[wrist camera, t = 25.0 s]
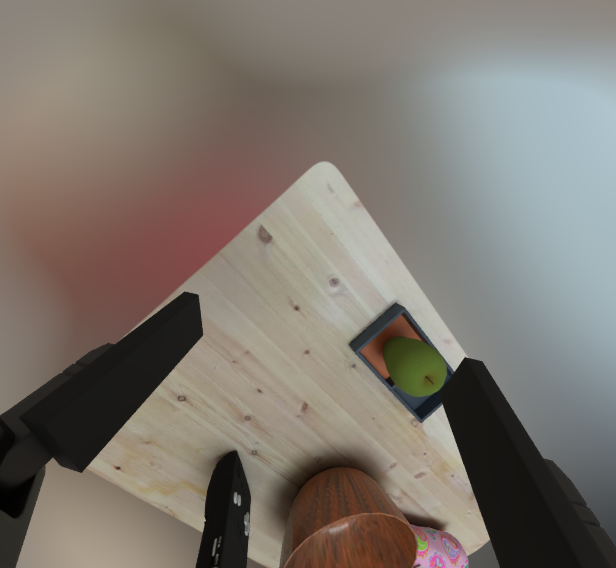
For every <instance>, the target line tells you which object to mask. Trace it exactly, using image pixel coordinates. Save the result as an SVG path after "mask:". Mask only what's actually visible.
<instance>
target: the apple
mask: <svg viewBox="0 0 616 568" xmlns="http://www.w3.org/2000/svg"><path fill="white" fill-rule="evenodd" d="M383 358H384V361H385V365H386V369H387V371H388V373H389V375H390V377H391V379H392V380H393V382H394V383H395V385H396V386H397V388H399V389H401V390H402V391H404V392H405V393H407V394H409V395H411V396H414V397H423V396H428V395H431V394H434V393H435V392H437V391H439V390H440V388H441V387H442V386H443V384H444V381H445V378H446V376H447V365H446V364H445V362H444V360H443V358H442V356H441V355H440V353H439V352H438V350H436V349H435V348H433V347H432V346H431V345H428V344H426V343H424V342H422V341H420V340H418V339H412V338H407V337H402V336H396V337H393V338H391V339H390V340H388V341H387V342H386V343H385V345H384V348H383Z"/></svg>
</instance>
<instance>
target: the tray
mask: <svg viewBox="0 0 616 568" xmlns="http://www.w3.org/2000/svg"><path fill="white" fill-rule="evenodd" d="M396 336H402V337H407V338H412V339H418V340H420V341H422V342H424V343H426V344H428V345H431V346H432V347H433V348H435V349H436V347H435V346H434V345H433V344H432V342H431V341H430V340H429V338H428V337H427V336H426V334H425V333H424V332H423V331H422V329H421V328H420V327H419V325H418V324H417V323H416V322H415V320H414V319H413V318H412V316H411V315H410V314H409V312H408V311H407V310H406V308H405V307H403V306H401V305H399V304H397V303H395V304H394V305H393V306H392V307H391V308H389V309H388V310H387V311H386V312H385V313H384V314H383V315H382V316H380V317H379V318H378V319H377V320H376V321H375V322H374V323H373V324H371V325H370V326H369V327H368V328H367V329H366V330H365V331H364V332H362V333H361V334H360V335H359V336H358V337H357V338H356V339H355V340H353V341H352V342H351V343H350V344H349V345H350V347H351V348H352V349H353V351H354V352H355V353H356V354H357V355H358V356H359V358H360V359H361V360H362V361H363V362H364V363H365V364H366V365H367V366H368V367H369V368H370V369H371V370H372V371H373V373H374V374H375V375H376V376H377V377H378V378H379V379H380V380H381V381H382V382H383V383H384V384H385V385H386V387H387V388H388V389H389V390H390V391H391V392H392V393H393V394H394V395H395V396H396V397H397V398H398V399H399V400H400V402H401V403H402V404H403V405H404V406H405V407H406V408H407V409H408V410H409V411H410V412H411V413H412V414H413V416H414V417H415V418H416V419H417V420H418V421H419V422H420V423H422V422H423V421H424V420H425V419H427V418H428V417H429V416H430V415H431V414H432V413H433V412H435V411H436V410H437V409H438V408H439V407H440V406H441V405H442V401H441V398H440V396H439V394H440V392H441V391H442V390H443V388H444V387H445V385H446V384H447V382H448V381H449V379H450V378H451V377H452V375H453V374H454V371H453V370H452V368H451V367H450V366H449V364H448V363H447V362H446V360H445V359H444V358H443V357H442V358H443V360H444V362H445V364H446V365H447V376H446V378H445V381H444V384H443V386H442V387H441V388H440V390H439V391H437V392H435V393H434V394H431V395H428V396H423V397H414V396H411V395H409V394H407V393H405V392H404V391H402V390H401V389H399V388H397V386H396V385H395V383H394V382H393V380H392V379H391V377H390V375H389V373H388V371H387V369H386V365H385V361H384V358H383V348H384V345H385V343H386V342H387V341H388V340H390V339H391V338H393V337H396ZM436 350H437V349H436ZM438 352H439V351H438ZM440 355H441V354H440ZM441 356H442V355H441Z"/></svg>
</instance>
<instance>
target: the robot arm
mask: <svg viewBox="0 0 616 568" xmlns="http://www.w3.org/2000/svg"><path fill="white" fill-rule="evenodd" d="M202 336H203V328H202V320H201V311H200V303H199V295H198V294H193V293H189V292H183V293H182V294H181V295H179V296H178V297H177V298H175V299H174V300H173V301H171V302H170V303H169V304H168V305H166V306H165V307H164V308H162V309H161V310H160V311H158V312H157V313H156V314H154V315H153V316H152V317H150V318H149V319H148V320H146V321H145V322H144V323H142V324H141V325H140V326H138V327H137V328H136V329H135V330H133V331H132V332H131V333H129V334H128V335H127V336H125V337H124V338H123V339H121V340H120V341H119V342H117V343H116V344H115V345H114V344H110V343H107V344H105V345H103V346H101V347H99V348H97V349H94V350H92V351H90V352H89V353H88V354H86V355H85V356H83V357H82V358H81V359H79V360H78V361H77V362H76V363H75V364H72V365H71V366H69V367H68V368H67V369H65V370H64V371H63V373H61V374H58V375H57V376H55V377H54V378H53V379H51V380H50V381H48V382H47V383H46V384H44V385H43V386H41V387H40V388H39V389H37V390H36V391H34V392H33V393H32V394H30V395H29V396H27V397H26V398H25V399H23V400H22V401H21V402H19V403H18V404H16V405H15V406H13V407H12V408H11V409H9V410H8V411H6V412H5V413H3V414H2V415H0V568H15V567H16V564H17V561H18V558H19V554H20V552H21V548H22V545H23V542H24V539H25V536H26V532H27V529H28V526H29V523H30V520H31V517H32V514H33V510H34V507H35V504H36V501H37V498H38V495H39V491H40V488H41V485H42V482H43V479H44V476H45V465H46V464H47V463H48V461H50V459H52V458H54V459H55V460H56V461H57V462H58V464H59V465H61V466H62V467H65V468H68V469H71V470H74V471H77V472H80V473H82V472H83V470H84V469H85V468H86V467H87V466H88V465H89V464H90V463H91V462H92V460H93V459H94V458H95V457H96V456H97V455H98V454H99V453H100V451H101V450H102V449H103V448H104V447H105V446H106V445H107V443H108V442H109V441H110V440H111V439H112V438H113V437H114V436H115V434H116V433H117V432H118V431H119V430H120V429H121V428H122V426H123V425H124V424H125V423H126V422H127V421H128V420H129V419H130V417H131V416H132V415H133V414H134V413H135V412H136V411H137V409H138V408H139V407H140V406H141V405H142V404H143V403H144V402H145V400H146V399H147V398H148V397H149V396H150V395H151V394H152V392H153V391H154V390H155V389H156V388H157V387H158V386H159V385H160V383H161V382H162V381H163V380H164V379H165V378H166V377H167V375H168V374H169V373H170V372H171V371H172V370H173V369H174V368H175V366H176V365H177V364H178V363H179V362H180V361H181V360H182V358H183V357H184V356H185V355H186V354H187V353H188V352H189V351H190V349H191V348H192V347H193V346H194V345H195V344H196V343H197V342H198V340H199V339H200V338H201V337H202ZM439 396H440V398H441V401H442V404H443V407H444V410H445V413H446V415H447V418H448V421H449V424H450V427H451V430H452V432H453V435H454V438H455V441H456V444H457V447H458V449H459V452H460V455H461V458H462V461H463V464H464V466H465V469H466V472H467V475H468V478H469V481H470V483H471V486H472V489H473V492H474V495H475V498H476V500H477V503H478V506H479V509H480V512H481V515H482V517H483V520H484V523H485V526H486V529H487V532H488V534H489V537H490V540H491V543H492V546H493V549H494V551H495V554H496V557H497V560H498V563H499V565H500V568H616V547H615V545H614V544H613V542H612V541H611V539H610V538H609V536H608V535H607V534H606V532H605V530H604V529H602V528H601V527H600V523H599V521H598V520H597V519H596V517H595V515H594V514H593V512H592V511H591V510H590V509H589V508H588V507H587V506H586V502H585V501H584V499H583V498H582V496H581V495H580V493H579V492H578V490H577V489H576V487H575V486H574V484H573V483H572V481H571V480H570V479H569V478H568V477H567V476H566V475H565V474H564V473H563V472H562V471H561V469H560V468H559V467H558V466H557V465H556V464H555V463H554V462H553V461H551V460H548V459H544V458H542V456H541V454H540V453H539V451H538V449H537V448H536V446H535V445H534V443H533V441H532V440H531V438H530V437H529V435H528V434H527V432H526V430H525V429H524V427H523V425H522V424H521V422H520V421H519V419H518V418H517V416H516V414H515V413H514V411H513V410H512V408H511V406H510V405H509V403H508V402H507V400H506V398H505V397H504V395H503V394H502V392H501V391H500V389H499V387H498V386H497V384H496V382H495V381H494V379H493V378H492V376H491V375H490V373H489V371H488V370H487V368H486V366H485V365H484V363H483V362H482V361H479V360H474V359H470V358H466V357H465V358H464V359H463V361H462V362H461V363H460V365H459V366H458V368H457V369H456V371H455V372H454V374H453V375H452V377H451V378H450V379H449V381H448V382H447V384H446V385H445V387H444V388H443V390H442V391H441V392H440V394H439Z"/></svg>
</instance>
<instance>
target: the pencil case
mask: <svg viewBox="0 0 616 568" xmlns="http://www.w3.org/2000/svg"><path fill="white" fill-rule="evenodd" d="M410 526H411V527H412V529H413V530H414V532H415V533H416V537H417V541H418V554H417V559H416V562H415V564H414V567H413V568H468V559H467V555H466V553H465V551H464V549H463V547H462V546H461V544H460V543H459V541H458V540H457V539H456V538H455V537H453V536H452V535H450V534H449V533H446V532H443V531H441V530H435V529H433V528H430V527H418V526H415V525H412V524H410Z"/></svg>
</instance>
